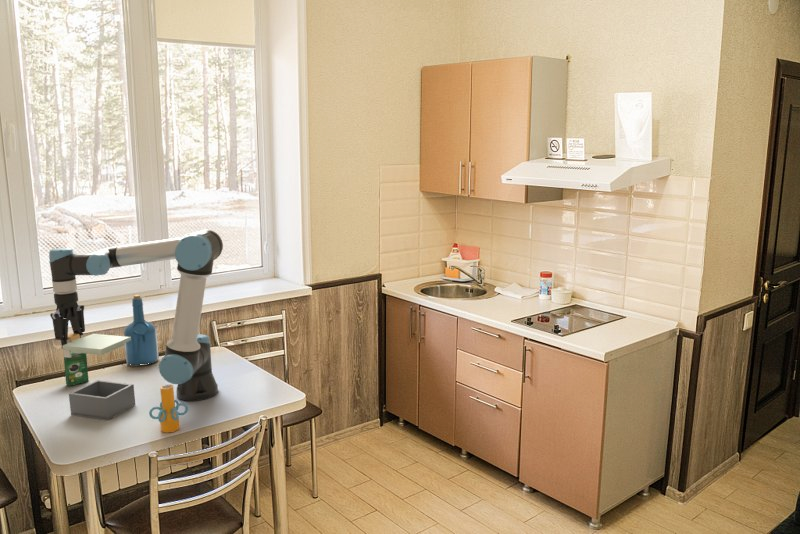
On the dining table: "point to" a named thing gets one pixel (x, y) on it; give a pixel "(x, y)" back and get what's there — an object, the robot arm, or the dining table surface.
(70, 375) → the coffee box
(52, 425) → the dining table surface
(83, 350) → the lid
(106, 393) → the tub
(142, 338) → the wine bottle
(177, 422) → the orange post with rings
